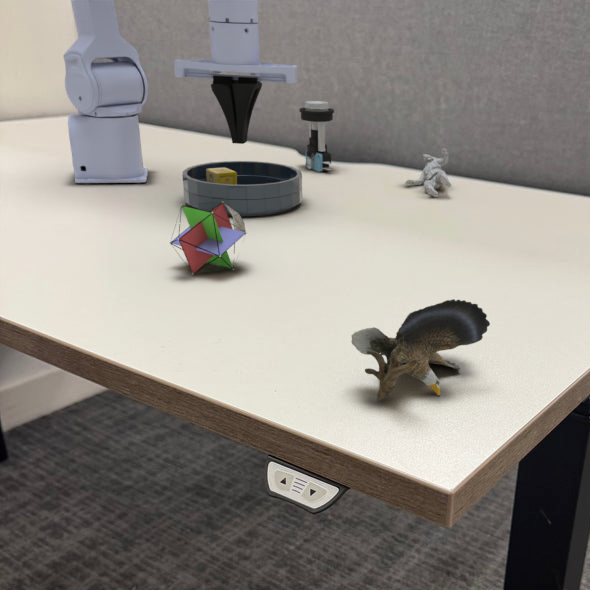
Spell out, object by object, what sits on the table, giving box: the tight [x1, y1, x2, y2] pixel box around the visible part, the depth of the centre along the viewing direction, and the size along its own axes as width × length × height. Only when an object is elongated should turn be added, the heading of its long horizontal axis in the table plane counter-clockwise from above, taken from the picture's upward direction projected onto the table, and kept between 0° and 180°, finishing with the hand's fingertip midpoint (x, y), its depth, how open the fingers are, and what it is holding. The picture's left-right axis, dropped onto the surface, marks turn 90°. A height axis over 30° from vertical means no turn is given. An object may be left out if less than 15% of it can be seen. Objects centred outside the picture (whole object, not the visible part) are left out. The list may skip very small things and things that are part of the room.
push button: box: [298, 100, 335, 173], centre depth 123 cm, size 7×5×10 cm
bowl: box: [181, 160, 303, 218], centre depth 103 cm, size 15×15×4 cm
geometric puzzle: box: [169, 202, 248, 275], centre depth 79 cm, size 7×7×8 cm
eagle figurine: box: [351, 299, 491, 402], centre depth 57 cm, size 8×7×9 cm
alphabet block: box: [206, 167, 237, 185], centre depth 106 cm, size 3×3×3 cm
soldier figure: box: [404, 148, 452, 198], centre depth 116 cm, size 8×5×12 cm
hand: (239, 142), depth 99 cm, fingers closed
